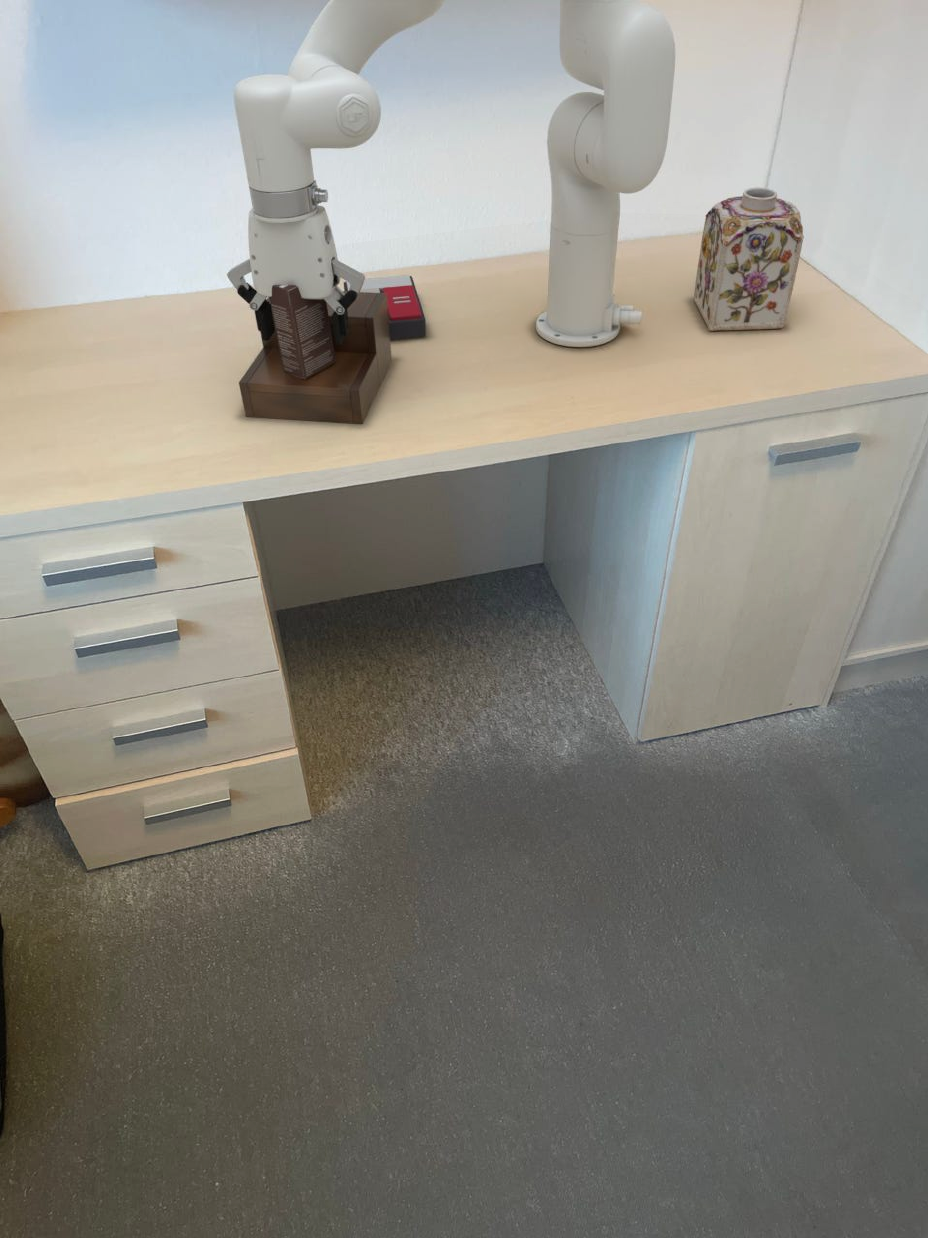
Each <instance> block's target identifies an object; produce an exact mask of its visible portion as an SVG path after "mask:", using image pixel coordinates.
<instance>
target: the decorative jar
mask: <svg viewBox="0 0 928 1238" xmlns="http://www.w3.org/2000/svg"><path fill="white" fill-rule="evenodd" d="M804 238H805V236H804V228H803V225H802V216H801V212H800V211H799V210H798V208H797V206H795V205H794V203H792V202H790V201H787V200H785V199H781V198H778V193H777V191H775V190H774V189H772V188H767V187H762V186H754V187H749V188H746V189H744V190H743V193H742V195H738V196H732V197H727V198H726V199H723V200H722V201H720V202H719V201H718V202H717V203H715V204H714V205H713V206H712V207H711V208H710V210H709V211H707V213H706V214H705V219H704V224H703V230H702V236H701V243H700V251H699V256H698V257H699V258H698V262H697V263H698V264H697V270H696V276H695V284H694V293H693V302H694V303H695V305H696V307H697V309H698V310H699V312H700V315H701V316H702V318H703V320H704V322H705V324H706V327H707V329H708V330H709V331H710V332H713V331H716V332H717V331H745V330H747V331H750V330H774V329H782V328H784V325H785V322H786V320H787V319H786V318H787V316H788V311H789V307H790V302H791V299H792V296H793V290H794V285H795V281H796V278H797V277H796V275H797V271H798V267H799V262H800V257H801V252H802V248H803V243H804Z"/></svg>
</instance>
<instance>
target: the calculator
mask: <svg viewBox="0 0 928 1238" xmlns="http://www.w3.org/2000/svg"><path fill="white" fill-rule="evenodd" d="M349 289H350V283H349V282H348V281H346V280H345V281H344V282H343V290H344V291H349ZM360 292H370V293H386V294H387V307H388V319H389V331H390V342H392V341H401V340H411V339H421V338H426V337H427V324H426V316H425V313H424V310H423V306H422V304H421V300H420V298H419V295H418V291H417V288H416V284H415V282H414V279H413V276H412V275H409V274H403V275H402V274H401V275H392V276H379V277H370V278H365V280H364V283H363V285H362V288H361V290H360Z"/></svg>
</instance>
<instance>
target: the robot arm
mask: <svg viewBox="0 0 928 1238" xmlns="http://www.w3.org/2000/svg"><path fill="white" fill-rule="evenodd" d="M444 2H445V0H329V1H328V2H327V3H326V5H325V6H324V7H323V9H322V10H321V11H320V12H319V14H318V16H317V17H316V18H315V20H314V22H313V23H312V25H311V27H310V29H309V30H308V32H307V34H306V35H305V37H304V40H303V41H302V42H301V44H300V46H299V48H298V49H297V52H296V53H295V55H294V57H293V59H292V62H291V63H290V66H289V68H288V71H287V75H285V74H280V73H279V74H277V73H268V74H257V75H252V76H249V77H245V78H243V79H241V80H240V81H238V83H237V84H236V85H235V87H234V89H233V102H234V103H233V104H234V108H235V115H236V120H237V127H238V133H239V138H240V143H241V149H242V154H243V155H242V156H243V161H244V167H245V172H246V178H247V184H248V190H249V195H250V202H251V206H252V207H251V209H250V210H249V212H248V219H247V223H248V226H247V227H248V230H247V231H248V233H247V234H248V237H247V238H248V253H249V258H248V259H246V260H244V261H243V262H241V263H239V264H237V265H235V266H233V267H232V268H231V269H230V270H229V271H228V272H227V273H226V276H227V279H229V281H230V282H231V285H232V286H233V287H234V288H235V289H236V292H237V294H238V296H239V297H240V298H241V299H243V301H245V302H246V303H247V304H248V306H249V308H250V309H251V310H252V311H254V315H255V321H256V326H257V330H258V331H259V332H260V331H261V333H260V335H261V334H262V338H261V340H262V339H263V341H268V340H269V339H270V337H271V336H272V334H273V333H274V332H275V326H274V320H273V314H272V309H271V304H270V303H269V301H267V298H268V297H271V296H272V286H273V285H296V286H298V288H299V291H300V294H301V297H302V298H304V299H324V300H325V301H326V302H327V303H328V304H329V305H330V306H331V308H332V309H333V310H334V313H333V314H332V323H333V330H334V338H335V343H336V344H339V345H341V344H342V342H343V340H344V338H345V337H346V336H347V335H348V334H349V321H348V312H347V309H348V308H349V306H350V305H351V304H352V303H353V302H354V301H355V300H356V298H357V296H358V295H359V292H360V290H361V288H362V285H363V283H364V280H365V279H366V275H365V274H364V273H362V272H360V271H358V270H356V269H355V268H353V267H351V266H349V265H347V264H345V263H344V262H342V261H340V260H339V258H338V252H337V248H336V243H335V239H334V238H335V237H334V234H333V231H332V227H331V223H330V219H329V216H328V213H327V210H326V208H325V207H324V206H322V205H319V204H322V203H328V201H329V192H328V190H327V189H322V188H321V187H319V186H318V185H317V180H316V179H315V174H314V167H313V159H312V150H311V149H340V150H341V149H352V148H356V147H358V146H361V145H363V144H365V143H366V142H367V141H369V140H370V139H371V138H372V137H373V136H374V135H375V133H376V132H377V130H378V127H379V125H380V122H381V116H382V107H381V103H380V99H379V97H378V94H377V92H376V90H375V89H374V88H373V86H372V84H370V83H369V81H367V80H366V79H365V78H363V77H362V76H361V75H359V74H360V73H361V71H362V69H363V68H364V67H365V65H366V64H367V62H368V61H369V60H370V58H371V57H372V56H373V55H374V54H375V52H376V51H378V49H379V48H380V47H381V46H382V45H383V44H384V43H386V42H387V41H388V40H389V39H391V38H392V37H394V36H395V35H397V34H399V33H401V32H403V31H406V30H407V29H410V28H412V27H414V26H417V25H420V24H421V23H424V22H425V21H426V20H428V19H430V18H431V17H432V16H434V15H435V14H436V13H438V11H440V9H441V7H442V6H443V4H444ZM559 56H560V62H561V65H562V67H563V69H564V71H565V72H566V73H567V74H568V75H569V76H570V77H572V78H573V79H574V80H577V81H578V82H581V83H583V84H584V85H588V86H589V87H593V88H596V89H598V90H601V91H603V94H601V93H597V92H593V91H592V92H591V91H581V92H576V93H573V94H571V95H569V96H567V97H566V98H565V99H563V100H562V101H561V102H560V103H559V104H558V105H557V107H556V108H555V110H554V111H553V113H552V115H551V118H550V120H549V124H548V128H547V138H546V145H547V146H546V147H547V157H548V164H549V173H550V182H551V183H550V184H551V205H550V206H551V208H550V227H549V228H550V229H549V230H550V231H549V252H548V253H549V254H548V275H547V276H548V278H547V302H546V303H547V304H546V310H545V311H543V312H542V313H541V314H539V316H538V317H537V318H536V321H535V329H536V332H537V334H538V335H539V336H540V337H541V338H542V339H544V340H545V341H547V342H549V343H552V344H555V345H559V346H564V347H569V348H570V347H571V348H590V347H595V346H601V345H604V344H607V343H608V342H611V341H613V340H614V339H615V338H616V337H617V336H618V335H619V333H620V329H621V324H628V325H641V323H642V316H643V315H642V314H643V313H642V312H643V311H642V310H634V308H635V305H632V304H631V305H630V304H625V305H622V304H619V303H618V302H615V296H616V295H615V294H614V293H613V292H614V281H615V271H616V270H615V269H616V260H617V250H618V249H617V248H618V236H619V226H620V218H621V217H620V216H621V196H620V194H627V195H629V194H635V193H639V192H641V191H642V190H644V189H645V188H647V187H648V186H649V185H651V183H653V181H654V179H656V177H657V175H658V173H659V172H660V170H661V168H662V166H663V162H664V158H665V155H666V152H667V147H668V139H669V131H670V122H671V112H672V111H671V110H672V103H673V102H672V101H673V90H674V80H675V69H676V43H675V37H674V33H673V30H672V26H671V25H670V23H669V20H668V19H667V17H666V16H665V15H664V14H663V12H662V11H660V10H659V9H658V8H656V7H655V6H653V5H651V4H649V3H645V2H641V1H637V0H560V3H559ZM250 273H251V277H252V282H253V286H254V287H253V286H252V285H251V284H250V283H248V282H247V281H246V278H245V277H244V276H247V275H248V274H250ZM341 279H343V280H344V281H345V282H346V281H348V282H349V283H350V289H349V291H348V292H347V293H346V294H344V293H343V292H342V291H343V290H342V289H340V287H339V286H338V285H339V284H340V282H341Z"/></svg>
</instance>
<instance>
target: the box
mask: <svg viewBox="0 0 928 1238" xmlns="http://www.w3.org/2000/svg"><path fill="white" fill-rule="evenodd" d="M269 298H270V303H271V308H272V313H273V319H274V323H275V328H276V334H277V339H278V344H279V349H280V354H281V359H282V364H283V369H284V371H285V372H286V373H289V374H291V375H293V376H296V377H298V378H301V379H304V380H305V379H307V378H309V377H310V376H312V375H314V374H316V373H318V372H319V371H321V370H323V369H325V368H326V367H328V366H330V365H332V364H334V363H336V361H335V355H334V348H333V341H332V335H331V328H330V322H329V315H328V309H327V302H326V301H325V300H324V299H304V298H302V297H301V294H300V291H299V288H298V286H296V285H273V286H272V296H271V297H269Z"/></svg>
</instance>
